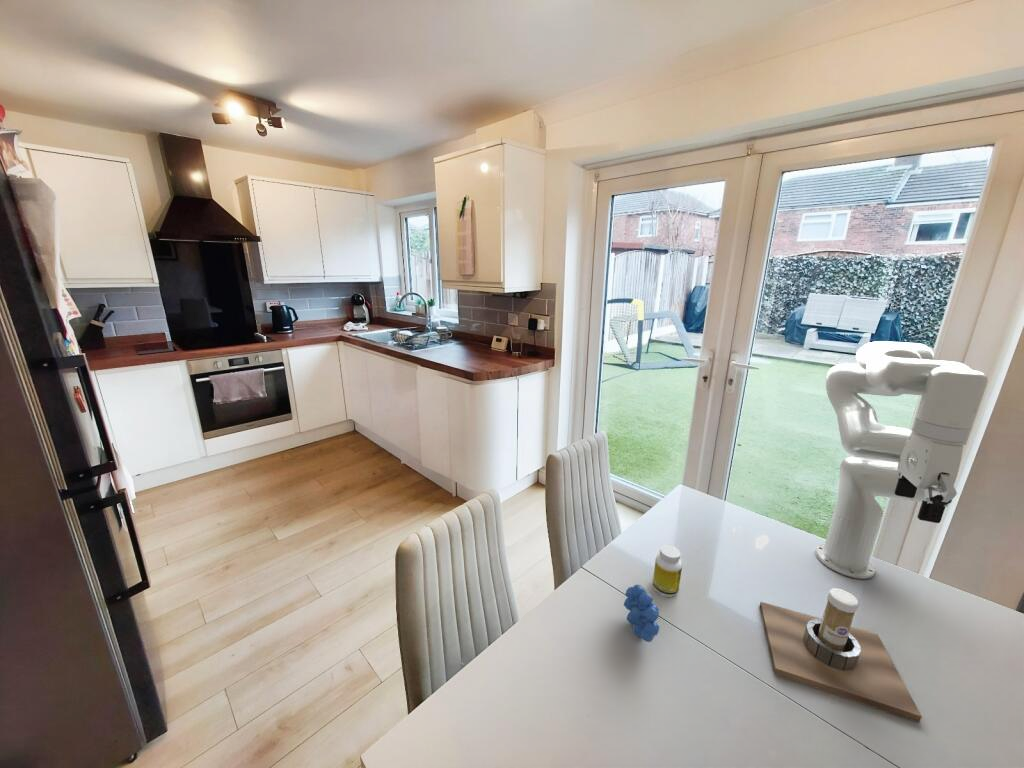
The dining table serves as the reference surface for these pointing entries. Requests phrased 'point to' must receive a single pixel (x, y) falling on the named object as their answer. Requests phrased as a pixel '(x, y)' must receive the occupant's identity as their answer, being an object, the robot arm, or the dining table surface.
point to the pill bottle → (667, 571)
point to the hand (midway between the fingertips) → (915, 507)
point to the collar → (828, 654)
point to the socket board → (863, 684)
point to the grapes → (642, 612)
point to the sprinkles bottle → (837, 619)
